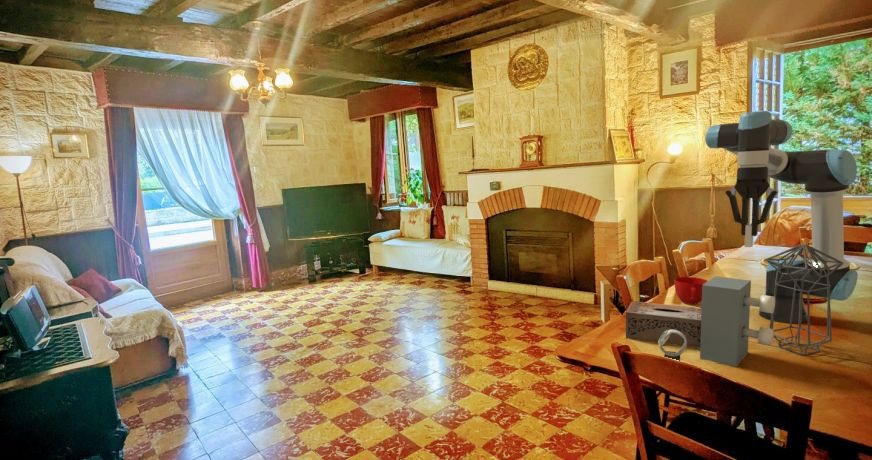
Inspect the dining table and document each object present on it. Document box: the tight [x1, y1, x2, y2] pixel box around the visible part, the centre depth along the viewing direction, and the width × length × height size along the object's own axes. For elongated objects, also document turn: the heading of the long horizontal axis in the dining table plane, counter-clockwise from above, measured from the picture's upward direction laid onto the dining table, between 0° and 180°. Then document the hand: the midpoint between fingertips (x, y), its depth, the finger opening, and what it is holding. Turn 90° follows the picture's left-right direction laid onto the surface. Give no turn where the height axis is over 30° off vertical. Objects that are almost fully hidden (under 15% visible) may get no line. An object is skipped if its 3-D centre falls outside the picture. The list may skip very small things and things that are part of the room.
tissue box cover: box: [625, 300, 702, 349], centre depth 168 cm, size 26×14×10 cm, turn 60°
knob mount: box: [699, 275, 752, 368], centre depth 149 cm, size 10×14×24 cm
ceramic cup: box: [673, 276, 709, 306], centre depth 204 cm, size 13×17×10 cm
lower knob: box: [742, 326, 775, 346], centre depth 144 cm, size 9×5×5 cm, turn 45°
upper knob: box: [743, 294, 775, 313], centre depth 143 cm, size 9×5×5 cm, turn 45°
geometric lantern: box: [764, 243, 844, 356], centre depth 150 cm, size 16×16×35 cm
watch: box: [657, 329, 688, 362], centre depth 145 cm, size 6×8×11 cm
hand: (748, 246), depth 139 cm, fingers closed
